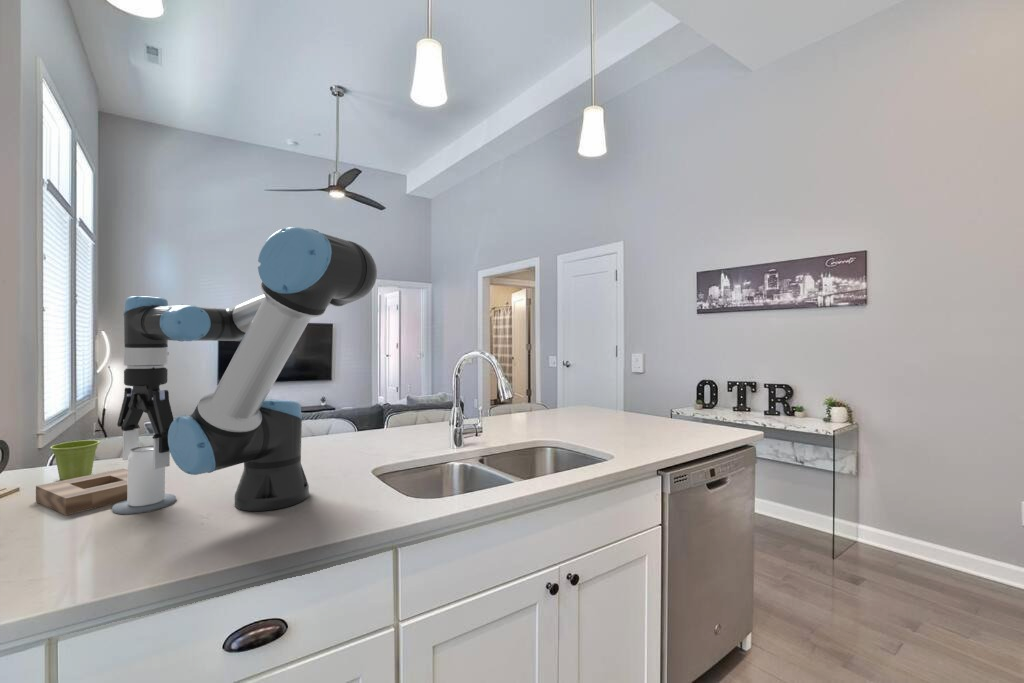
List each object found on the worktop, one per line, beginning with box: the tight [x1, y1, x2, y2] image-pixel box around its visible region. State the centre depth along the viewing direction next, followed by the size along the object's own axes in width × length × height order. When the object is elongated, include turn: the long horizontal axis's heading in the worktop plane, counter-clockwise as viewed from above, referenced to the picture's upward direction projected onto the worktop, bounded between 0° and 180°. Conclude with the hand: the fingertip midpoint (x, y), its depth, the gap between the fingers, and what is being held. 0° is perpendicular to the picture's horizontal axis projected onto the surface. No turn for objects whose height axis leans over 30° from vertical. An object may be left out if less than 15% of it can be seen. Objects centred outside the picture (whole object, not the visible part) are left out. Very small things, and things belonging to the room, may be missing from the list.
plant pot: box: [50, 439, 101, 481], centre depth 120 cm, size 9×9×9 cm
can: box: [127, 444, 166, 507], centre depth 101 cm, size 6×6×12 cm
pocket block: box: [35, 468, 128, 516], centre depth 106 cm, size 16×16×4 cm
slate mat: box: [111, 493, 177, 515], centre depth 101 cm, size 11×11×1 cm
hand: (145, 463), depth 101 cm, fingers open, 13 cm apart
